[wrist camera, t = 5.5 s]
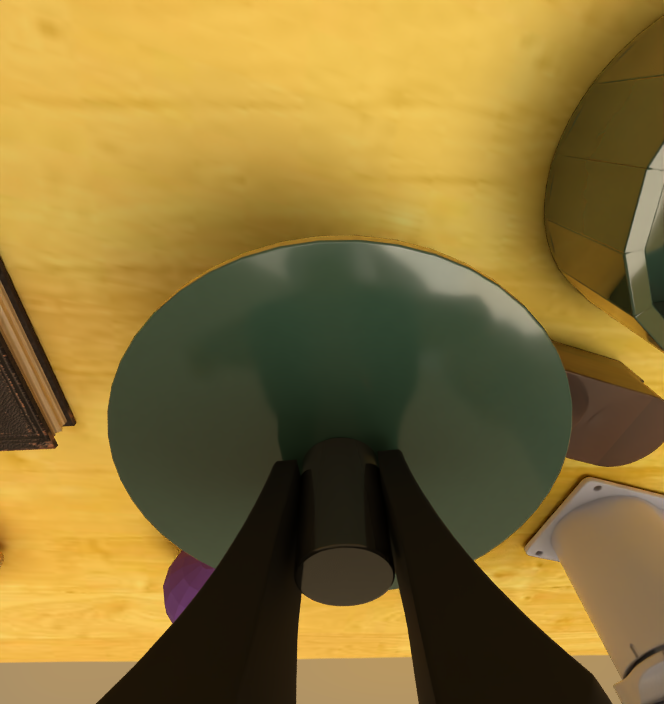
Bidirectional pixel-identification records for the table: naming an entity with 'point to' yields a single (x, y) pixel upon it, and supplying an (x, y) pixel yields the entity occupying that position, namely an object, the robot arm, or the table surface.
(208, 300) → the lid
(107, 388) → the table surface
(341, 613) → the table surface
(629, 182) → the pot
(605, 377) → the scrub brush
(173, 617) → the kendama
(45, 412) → the hardcover book
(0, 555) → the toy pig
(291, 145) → the table surface
